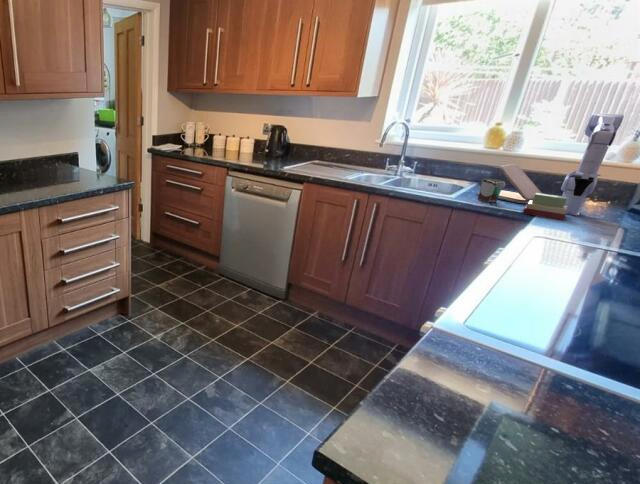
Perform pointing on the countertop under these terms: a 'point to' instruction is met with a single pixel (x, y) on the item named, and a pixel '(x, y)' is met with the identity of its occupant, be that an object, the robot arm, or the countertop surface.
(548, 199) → the green block
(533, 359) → the countertop surface
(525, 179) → the case
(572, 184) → the robot arm
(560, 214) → the book stack
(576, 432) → the countertop surface
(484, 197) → the food container
